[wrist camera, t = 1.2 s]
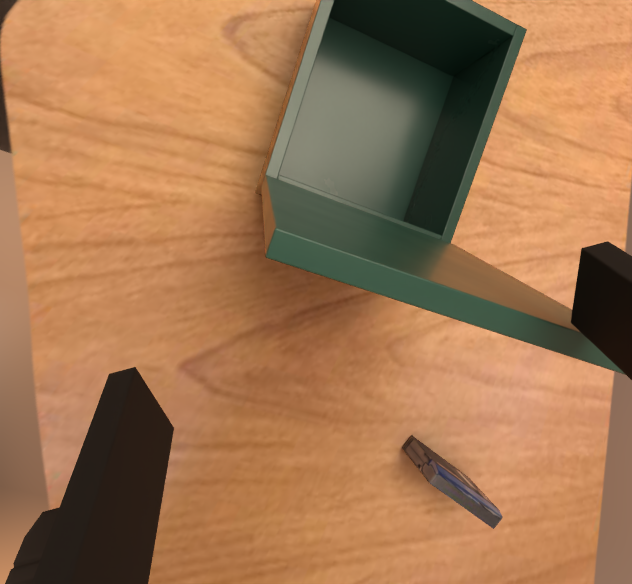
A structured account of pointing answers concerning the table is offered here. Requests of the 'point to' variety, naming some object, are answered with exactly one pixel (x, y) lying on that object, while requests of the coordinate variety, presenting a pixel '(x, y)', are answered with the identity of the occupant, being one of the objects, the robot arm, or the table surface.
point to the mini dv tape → (452, 482)
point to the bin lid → (413, 269)
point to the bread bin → (394, 106)
